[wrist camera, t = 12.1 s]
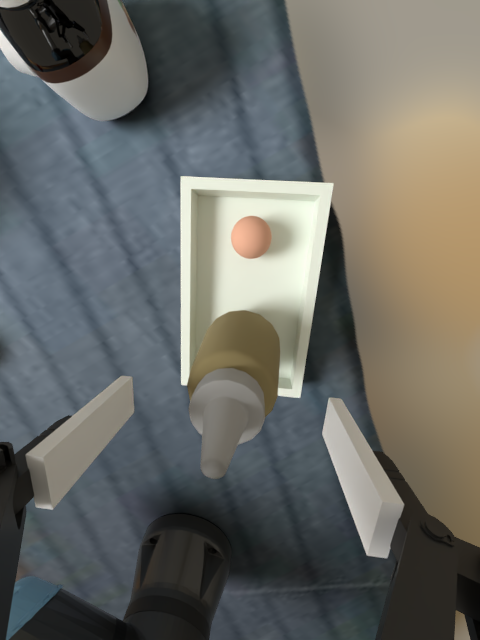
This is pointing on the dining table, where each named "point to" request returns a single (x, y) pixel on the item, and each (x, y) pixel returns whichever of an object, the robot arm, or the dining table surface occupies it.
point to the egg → (251, 237)
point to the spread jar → (78, 52)
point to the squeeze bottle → (233, 385)
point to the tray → (252, 263)
